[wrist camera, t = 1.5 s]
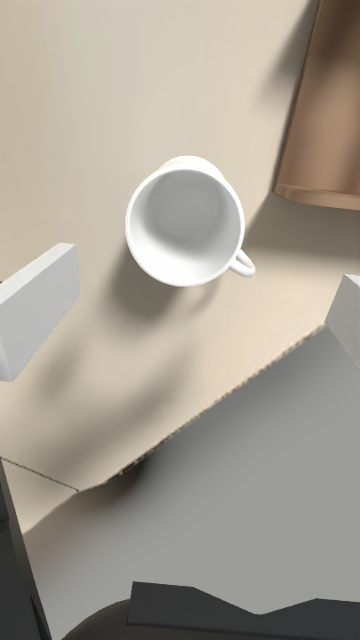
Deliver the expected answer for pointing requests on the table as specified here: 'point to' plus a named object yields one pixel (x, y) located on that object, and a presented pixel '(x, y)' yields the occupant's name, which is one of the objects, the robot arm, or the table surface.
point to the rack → (326, 115)
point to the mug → (186, 224)
